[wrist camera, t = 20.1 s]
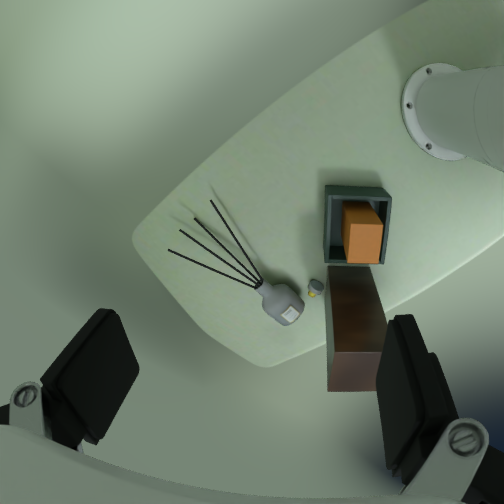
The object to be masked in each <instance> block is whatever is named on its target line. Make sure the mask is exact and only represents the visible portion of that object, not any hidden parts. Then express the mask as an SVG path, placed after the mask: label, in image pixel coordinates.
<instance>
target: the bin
mask: <svg viewBox="0 0 504 504" xmlns="http://www.w3.org/2000/svg"><path fill="white" fill-rule="evenodd" d="M343 201H350V202H369V203H370V204H371V206H372V207H373V209H374V211H375V212H376V214H377V216H378V217H379V219H380V220H381V222H382V224H383V232H382V240H381V248H380V255H379V262H378V264H384V260H385V253H386V246H387V239H388V231H389V222H390V213H391V203H392V197H391V196H390V195H389V194H388V193H387V192H386V190H385V189H384V188H379V187H359V186H334V185H325V217H324V241H323V250H324V261H325V263H347V259H346V254H345V250H344V246H343V242H342V238H341V220H342V202H343ZM350 264H369V263H350Z"/></svg>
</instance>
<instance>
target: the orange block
mask: <svg viewBox="0 0 504 504" xmlns="http://www.w3.org/2000/svg"><path fill="white" fill-rule="evenodd" d="M382 232H383V224H382V222H381V220H380V219H379V217H378V216H377V214H376V212H375V211H374V209H373V207H372V206H371V204H370V203H369V202H350V201H343V202H342V220H341V238H342V242H343V246H344V250H345V254H346V259H347V263H369V264H378V262H379V255H380V248H381V240H382Z"/></svg>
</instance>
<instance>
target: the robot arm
mask: <svg viewBox="0 0 504 504" xmlns="http://www.w3.org/2000/svg"><path fill="white" fill-rule="evenodd" d="M426 70H427V71H428V74H427V73H426ZM407 103H408V104H409V107H407V106H406V104H407ZM402 115H403V119H404V122H405V126H406V128H407V130H408V132H409V134H410V136H411V137H412V138H413V140H414V141H415V143H416V144H417V145H418V146H419V147H420V148H421V149H422V150H424V151H425V152H427V153H428V154H430V155H432V156H434V157H436V158H439V159H442V160H448V161H454V160H460V159H463V158H466V157H470V158H472V159H475V160H477V161H479V162H482V163H484V164H487V165H489V166H491V167H494V168H496V169H498V170H500V171H503V172H504V65H500V66H492V67H484V68H477V69H471V70H464V71H462V70H461V69H459V68H457V67H455V66H452V65H450V64H445V63H433V64H429V65H425V66H423V67H421V68H419V69H418V70H417V71H415V72H414V73H413V74H412V75H411V77H410V78H409V79H408V81H407V83H406V85H405V87H404V90H403V95H402ZM426 144H428V147H426ZM138 373H139V364H138V362H137V360H136V357H135V355H134V352H133V350H132V348H131V345H130V343H129V340H128V338H127V335H126V333H125V330H124V327H123V325H122V322H121V320H120V317H119V315H118V314H116V312H115V311H114V310H112V309H103V308H100V309H98V310H97V311H96V312H95V313H94V314H93V315H92V317H91V318H90V319H89V320H88V321H87V323H86V324H85V325H84V326H83V327H82V328H81V329H80V331H79V332H78V333H77V334H76V335H75V336H74V338H73V339H72V340H71V341H70V343H69V344H68V345H67V346H66V347H65V348H64V350H63V351H62V352H61V354H60V355H59V356H58V357H57V358H56V360H55V361H54V362H53V363H52V364H51V366H50V367H49V368H48V369H47V371H46V372H45V373H44V375H43V376H42V377H41V378H40V381H41V382H42V384H43V386H42V387H40V386H39V385H38V384H37V383H35V382H26V383H23V384H21V385H19V386H18V387H17V388H16V389H15V390H14V391H13V393H12V395H11V398H10V404H7V405H4V406H1V407H0V504H504V453H503V452H501V451H499V450H497V449H496V448H493V447H492V446H490V445H488V443H489V437H488V433H487V431H486V428H485V427H484V426H483V425H482V424H481V423H480V422H478V421H477V420H474V419H470V418H461V419H459V417H458V414H457V411H456V408H455V405H454V402H453V399H452V396H451V393H450V390H449V387H448V384H447V382H446V379H445V376H444V373H443V371H442V368H441V365H440V363H439V361H438V358H437V356H436V354H435V353H433V352H432V353H428V351H427V348H426V346H425V344H424V340H423V338H422V336H421V333H420V330H419V328H418V326H417V323H416V321H415V319H414V316H413V315H412V314H406V315H395V317H394V320H389V322H388V326H387V331H386V336H385V341H384V345H383V350H382V354H381V359H380V363H379V367H378V371H377V375H376V391H377V397H378V404H379V411H380V418H381V425H382V432H383V441H384V449H385V459H386V467H387V469H388V470H390V469H392V474H393V475H392V476H393V477H398V476H401V477H402V483H403V484H404V485H405V486H404V487H403V488H402V490H401V491H400V492H399V494H398V495H387V496H371V497H353V498H283V497H282V498H281V497H267V496H256V495H245V494H237V493H230V492H223V491H216V490H210V489H204V488H199V487H194V486H188V485H184V484H180V483H175V482H171V481H166V480H163V479H159V478H155V477H151V476H147V475H144V474H140V473H137V472H134V471H131V470H127V469H124V468H121V467H118V466H115V465H112V464H109V463H106V462H103V461H101V460H98V459H95V458H93V457H90V456H87V455H85V454H84V453H83V449H82V444H81V441H82V439H84V440H85V441H86V442H89V443H91V444H94V445H97V444H98V442H99V440H100V439H102V438H103V437H104V436H105V434H106V432H107V430H108V428H109V427H110V425H111V423H112V421H113V419H114V417H115V415H116V413H117V412H118V410H119V408H120V406H121V404H122V403H123V401H124V399H125V397H126V395H127V394H128V392H129V390H130V388H131V386H132V385H133V383H134V381H135V379H136V377H137V376H138Z"/></svg>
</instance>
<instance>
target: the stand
mask: <svg viewBox="0 0 504 504" xmlns="http://www.w3.org/2000/svg"><path fill="white" fill-rule="evenodd" d="M325 318H326V342H327V381H328V382H327V383H328V384H327V386H328V389H327V390H328V392H330V391H331V392H356V391H357V392H359V391H376V375H377V371H378V367H379V363H380V359H381V354H382V350H383V345H384V341H385V336H386V331H387V326H388V324H387V321H386V317H385V314H384V311H383V307H382V304H381V301H380V298H379V294H378V291H377V288H376V285H375V282H374V279H373V276H372V273H371V270H370V267H350V266H327V280H326V292H325Z"/></svg>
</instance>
